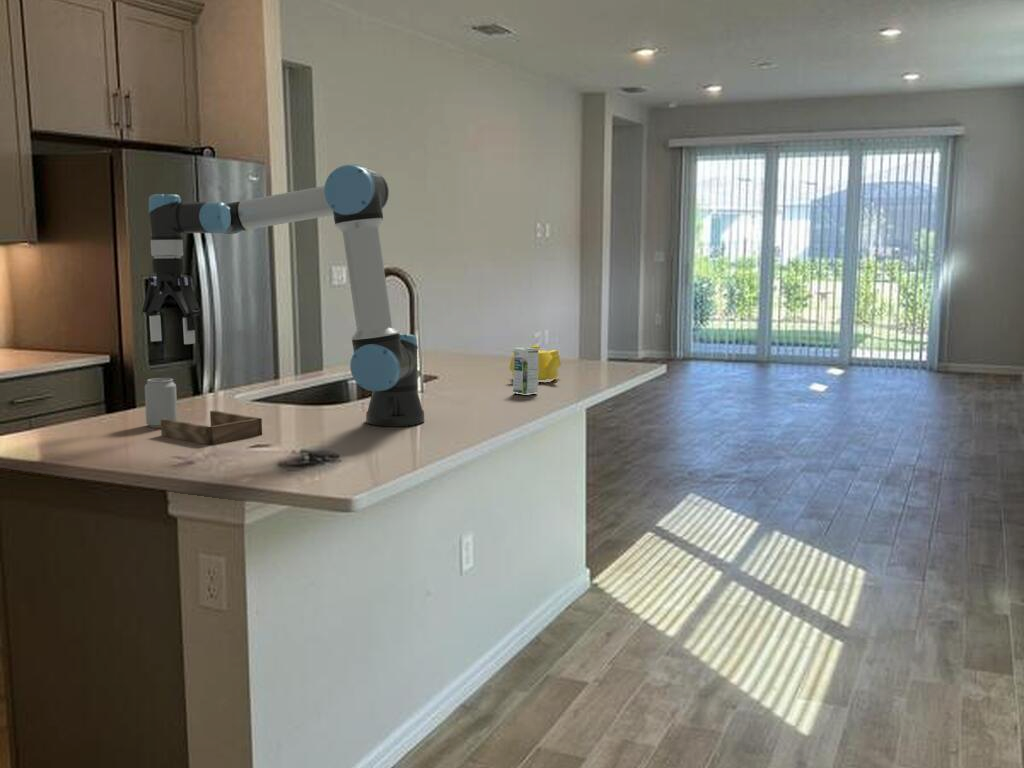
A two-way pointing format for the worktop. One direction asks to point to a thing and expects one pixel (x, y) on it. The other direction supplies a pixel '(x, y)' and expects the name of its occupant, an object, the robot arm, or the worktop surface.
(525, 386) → the syrup box
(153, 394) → the can
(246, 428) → the walnut box
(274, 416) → the worktop surface
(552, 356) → the teapot
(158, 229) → the robot arm
